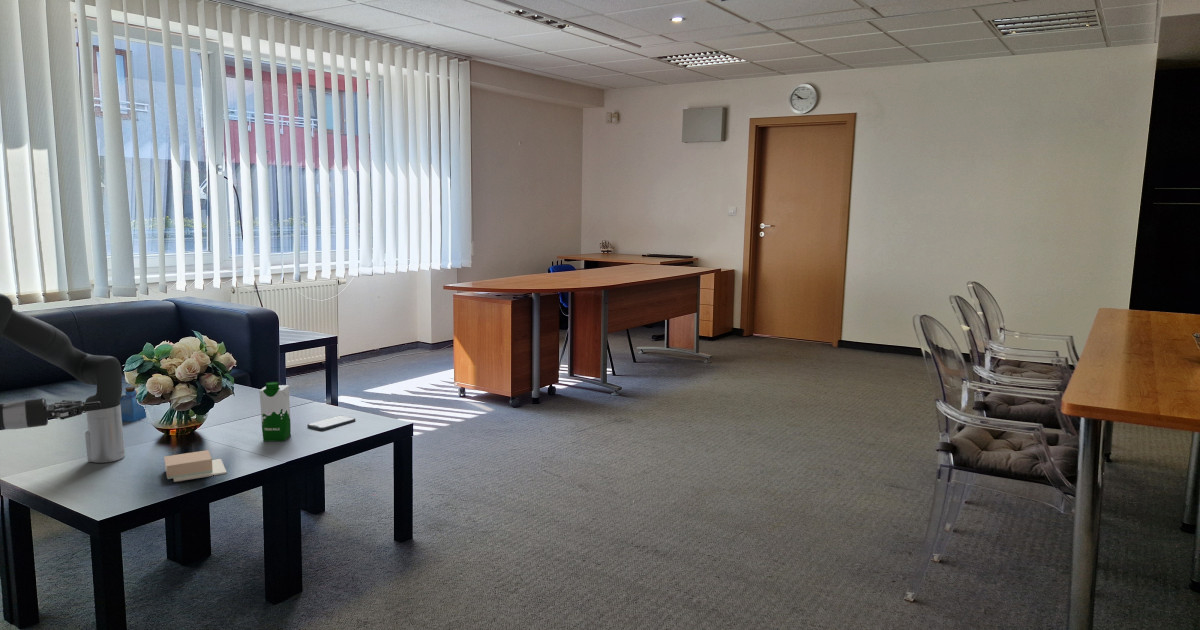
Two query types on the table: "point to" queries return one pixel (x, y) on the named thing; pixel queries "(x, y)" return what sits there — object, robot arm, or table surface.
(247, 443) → the table surface
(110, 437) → the robot arm
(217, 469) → the felt mat
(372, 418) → the table surface
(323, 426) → the phone case
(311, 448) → the table surface
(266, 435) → the milk carton
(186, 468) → the beige rectangular block
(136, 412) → the perfume bottle
